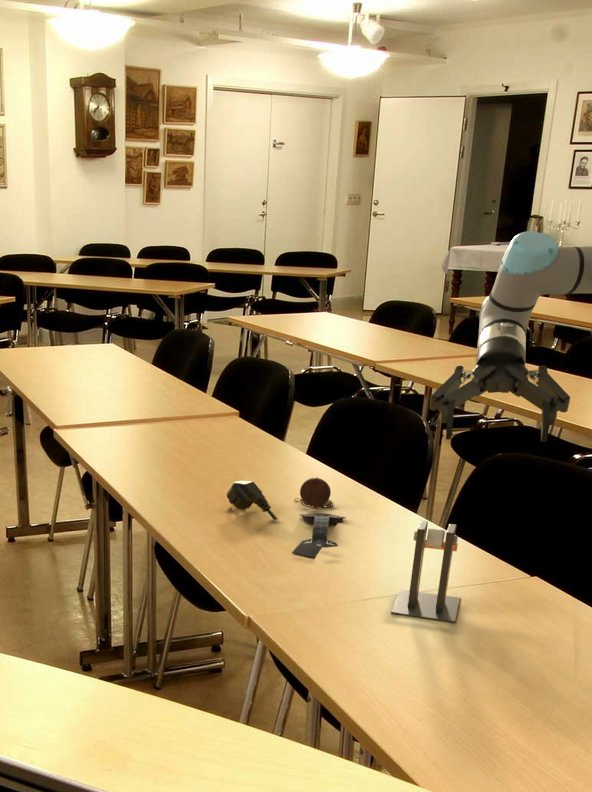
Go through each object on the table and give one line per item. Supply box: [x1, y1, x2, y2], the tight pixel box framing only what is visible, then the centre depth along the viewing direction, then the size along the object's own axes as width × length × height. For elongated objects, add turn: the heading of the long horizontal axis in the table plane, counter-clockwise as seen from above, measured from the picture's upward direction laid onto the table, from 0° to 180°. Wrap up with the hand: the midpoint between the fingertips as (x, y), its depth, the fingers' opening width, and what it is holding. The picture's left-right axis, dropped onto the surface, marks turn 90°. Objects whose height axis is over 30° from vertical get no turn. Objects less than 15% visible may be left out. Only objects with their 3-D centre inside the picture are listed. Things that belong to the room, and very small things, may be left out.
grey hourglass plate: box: [291, 512, 347, 559], centre depth 173 cm, size 9×25×3 cm, turn 163°
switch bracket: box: [390, 520, 462, 624], centre depth 138 cm, size 10×9×14 cm
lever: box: [424, 528, 459, 552], centre depth 140 cm, size 13×6×2 cm, turn 154°
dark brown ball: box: [293, 476, 334, 509], centre depth 191 cm, size 8×8×7 cm
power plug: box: [226, 480, 278, 520], centre depth 188 cm, size 6×8×12 cm
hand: (496, 434), depth 141 cm, fingers open, 13 cm apart
